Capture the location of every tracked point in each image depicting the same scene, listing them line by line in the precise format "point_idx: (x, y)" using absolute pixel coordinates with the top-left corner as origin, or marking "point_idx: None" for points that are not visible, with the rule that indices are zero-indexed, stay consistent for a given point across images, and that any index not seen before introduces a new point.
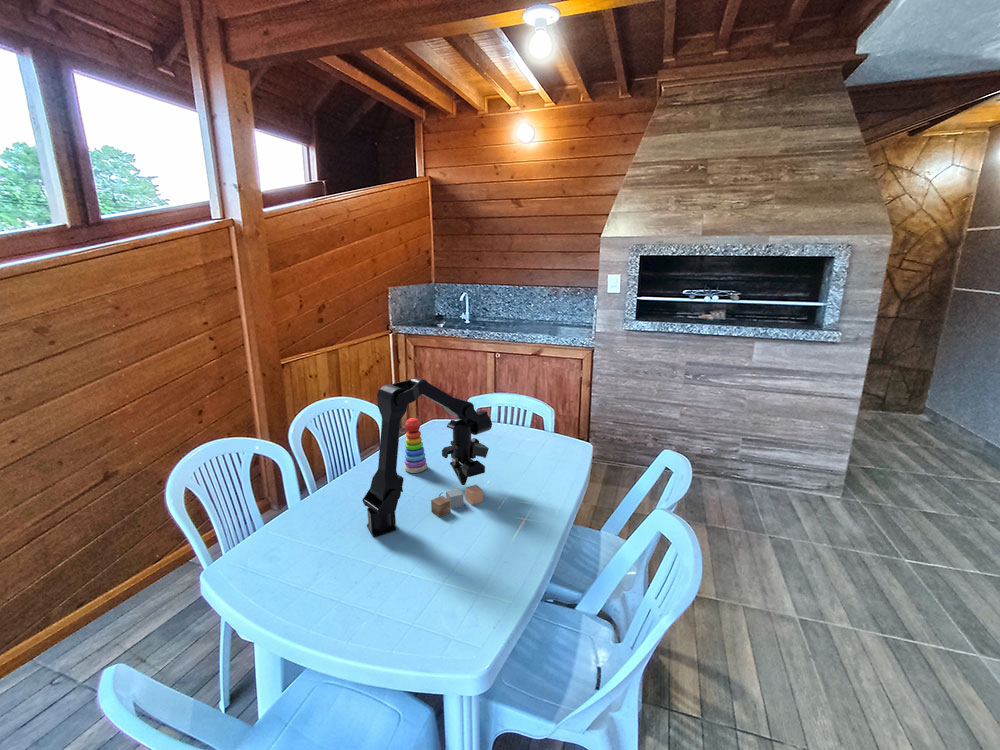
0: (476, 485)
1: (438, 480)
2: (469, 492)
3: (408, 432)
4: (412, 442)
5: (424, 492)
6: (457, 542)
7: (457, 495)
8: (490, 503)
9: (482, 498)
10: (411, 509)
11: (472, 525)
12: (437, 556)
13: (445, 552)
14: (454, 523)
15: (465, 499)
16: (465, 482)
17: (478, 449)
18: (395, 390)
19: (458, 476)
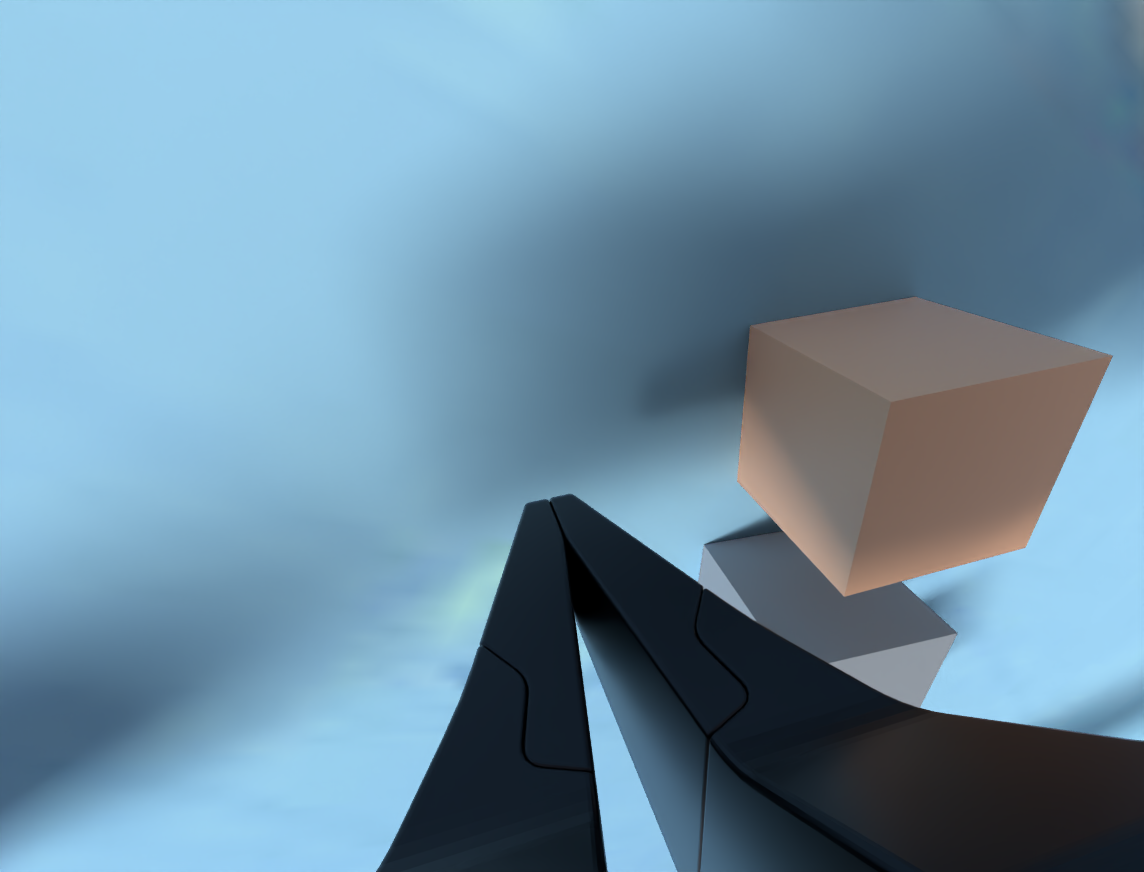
0: (916, 410)
1: (68, 699)
2: (972, 553)
3: None
4: None
5: (394, 797)
6: (1128, 622)
7: (929, 688)
8: (1019, 216)
9: (954, 314)
10: (636, 834)
11: (1104, 515)
12: (1109, 704)
13: (1124, 676)
14: (981, 619)
15: (742, 479)
16: (598, 520)
17: None
18: None
19: (636, 762)
